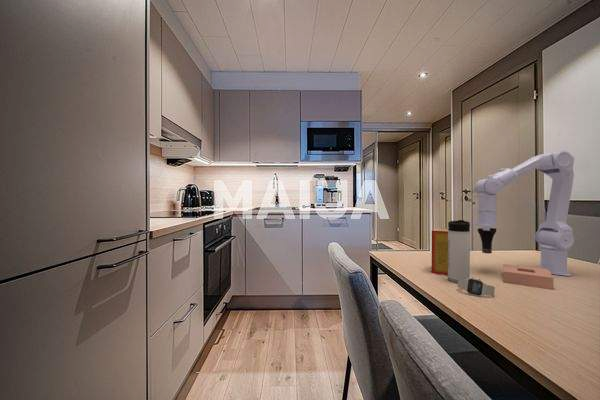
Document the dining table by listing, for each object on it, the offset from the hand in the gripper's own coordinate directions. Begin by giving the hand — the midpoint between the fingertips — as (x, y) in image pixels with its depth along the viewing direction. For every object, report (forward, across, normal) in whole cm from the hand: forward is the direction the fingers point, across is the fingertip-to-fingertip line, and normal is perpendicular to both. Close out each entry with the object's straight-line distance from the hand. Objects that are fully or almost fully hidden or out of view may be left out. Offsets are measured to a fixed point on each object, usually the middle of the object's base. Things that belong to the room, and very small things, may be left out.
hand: (486, 248), depth 101 cm
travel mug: (+9, +18, -7) cm, 21 cm away
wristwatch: (+9, +28, -2) cm, 30 cm away
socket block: (+9, +5, +11) cm, 15 cm away
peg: (+2, 0, 0) cm, 2 cm away
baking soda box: (+9, +8, -13) cm, 18 cm away
